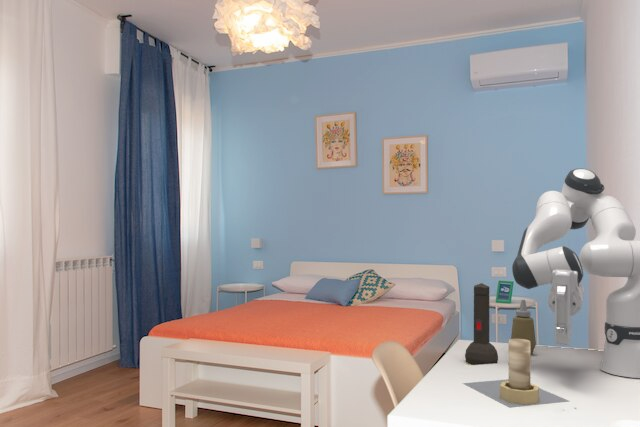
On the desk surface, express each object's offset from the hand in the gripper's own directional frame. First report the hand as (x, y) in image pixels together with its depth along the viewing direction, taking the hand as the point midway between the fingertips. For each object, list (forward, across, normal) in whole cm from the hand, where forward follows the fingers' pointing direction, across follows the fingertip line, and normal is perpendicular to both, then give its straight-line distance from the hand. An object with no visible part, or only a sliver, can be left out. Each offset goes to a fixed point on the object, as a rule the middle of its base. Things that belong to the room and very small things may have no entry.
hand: (560, 314), depth 142 cm
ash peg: (+17, -17, -8) cm, 25 cm away
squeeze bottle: (-37, -27, -15) cm, 48 cm away
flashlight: (-17, -24, -24) cm, 38 cm away
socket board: (+12, -19, -10) cm, 24 cm away
